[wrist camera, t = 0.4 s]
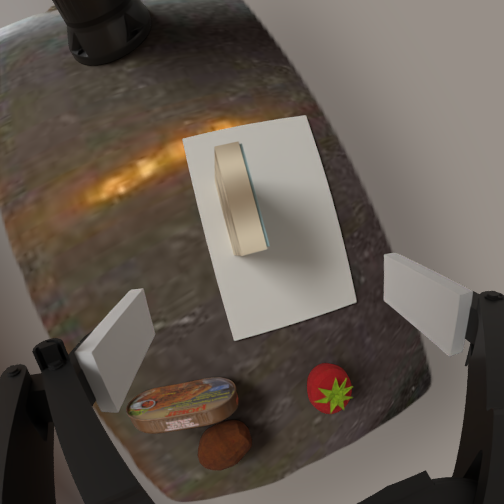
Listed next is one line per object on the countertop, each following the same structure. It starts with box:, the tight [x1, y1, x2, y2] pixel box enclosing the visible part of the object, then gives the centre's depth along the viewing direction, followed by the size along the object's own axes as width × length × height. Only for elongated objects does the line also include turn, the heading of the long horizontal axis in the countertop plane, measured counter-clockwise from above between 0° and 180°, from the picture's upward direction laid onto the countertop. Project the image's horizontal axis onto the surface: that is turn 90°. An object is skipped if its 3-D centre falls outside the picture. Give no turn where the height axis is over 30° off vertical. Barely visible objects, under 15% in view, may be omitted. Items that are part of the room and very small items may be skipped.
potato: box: [198, 420, 252, 470], centre depth 35 cm, size 7×9×6 cm
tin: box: [126, 377, 239, 434], centre depth 34 cm, size 15×3×8 cm, turn 103°
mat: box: [182, 115, 357, 341], centre depth 39 cm, size 28×18×1 cm, turn 15°
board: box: [214, 142, 270, 256], centre depth 32 cm, size 10×2×13 cm, turn 15°
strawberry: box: [307, 363, 353, 414], centre depth 35 cm, size 6×8×10 cm
